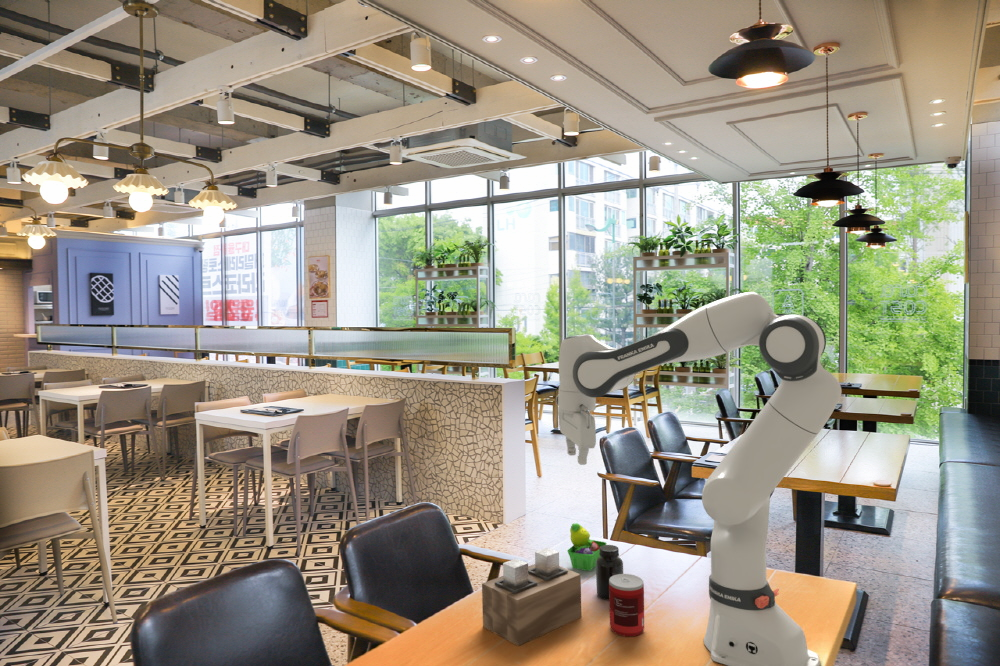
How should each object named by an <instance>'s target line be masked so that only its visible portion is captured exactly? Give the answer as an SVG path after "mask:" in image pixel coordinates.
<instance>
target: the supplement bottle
mask: <svg viewBox="0 0 1000 666" xmlns="http://www.w3.org/2000/svg"><path fill="white" fill-rule="evenodd" d="M619 551H620V550H619V547H618V546H616V545H613V544H606V545H603V546H600V548H599V555H600V557H599V558H597V560H596V565H595V581H596V582H595V583H596V594H597V596H598V597H599V598H601V599H602V600H606V601H609V579H610V577H612V576H614V575H617V574H624V561H623V560H622V559H621V558H620V557H619V556H620V553H619Z"/></svg>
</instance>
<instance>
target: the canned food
mask: <svg viewBox="0 0 1000 666" xmlns="http://www.w3.org/2000/svg"><path fill="white" fill-rule="evenodd" d="M644 584H645V583H644V580H643V578H642V577H640V576H638V575H634V574H631V573H623V574H617V575H614V576H612V577H610V579H609V600H608V601H609V604H608V605H609V608H608V609H609V626H610V630H611V631H612V632H614V633H615V634H616V635H618V636H622V637H628V638H629V637H637V636H640V635H641V634H642V633H643V632H644V629H645V585H644Z"/></svg>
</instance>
